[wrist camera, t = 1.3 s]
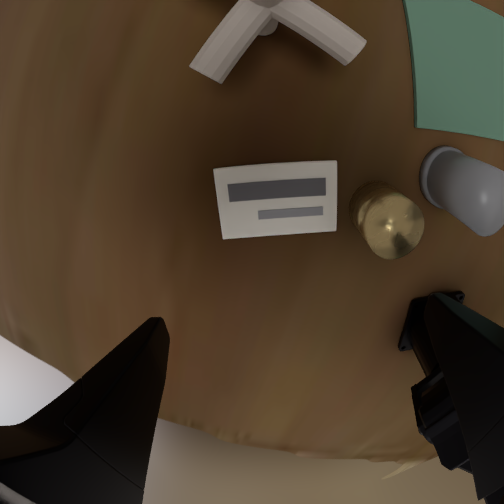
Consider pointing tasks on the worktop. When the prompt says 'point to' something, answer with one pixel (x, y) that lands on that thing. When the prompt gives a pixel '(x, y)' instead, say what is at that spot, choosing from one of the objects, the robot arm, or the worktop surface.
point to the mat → (457, 66)
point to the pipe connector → (264, 23)
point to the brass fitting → (386, 219)
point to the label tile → (277, 198)
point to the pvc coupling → (464, 188)
